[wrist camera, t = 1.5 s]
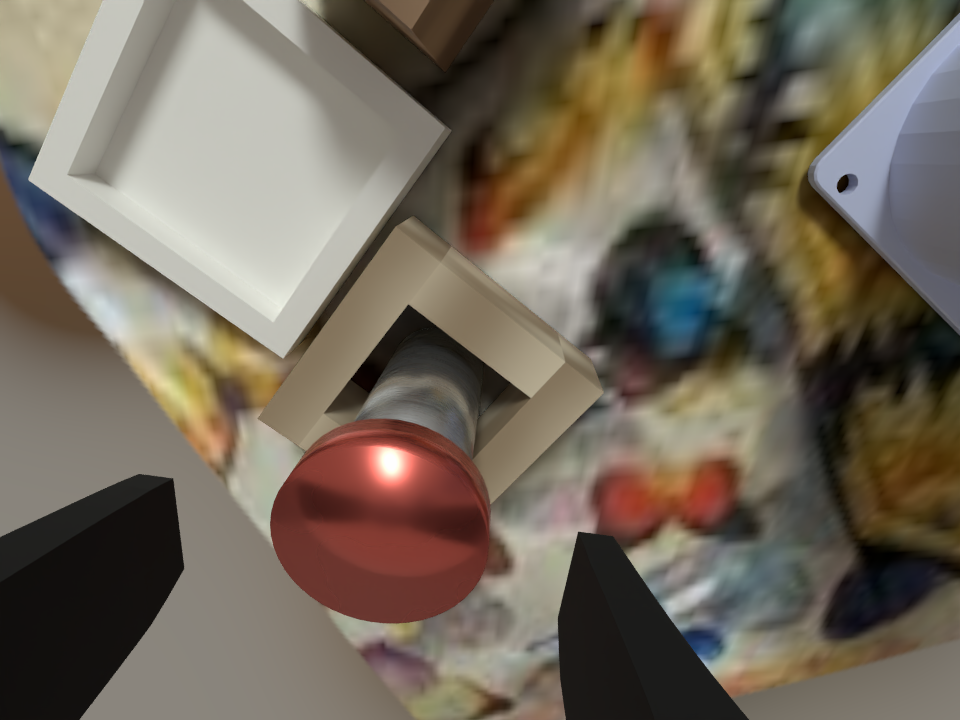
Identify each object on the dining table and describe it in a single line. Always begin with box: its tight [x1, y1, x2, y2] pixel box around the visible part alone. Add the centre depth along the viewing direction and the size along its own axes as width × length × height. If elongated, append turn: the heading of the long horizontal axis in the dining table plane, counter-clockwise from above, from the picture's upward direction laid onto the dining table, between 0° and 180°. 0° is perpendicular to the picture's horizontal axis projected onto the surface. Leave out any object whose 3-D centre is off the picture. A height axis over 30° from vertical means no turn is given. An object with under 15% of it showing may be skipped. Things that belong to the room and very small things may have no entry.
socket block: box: [258, 216, 604, 505], centre depth 16 cm, size 7×7×2 cm
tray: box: [28, 0, 452, 358], centre depth 14 cm, size 8×8×2 cm
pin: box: [270, 328, 491, 623], centre depth 13 cm, size 4×4×8 cm
